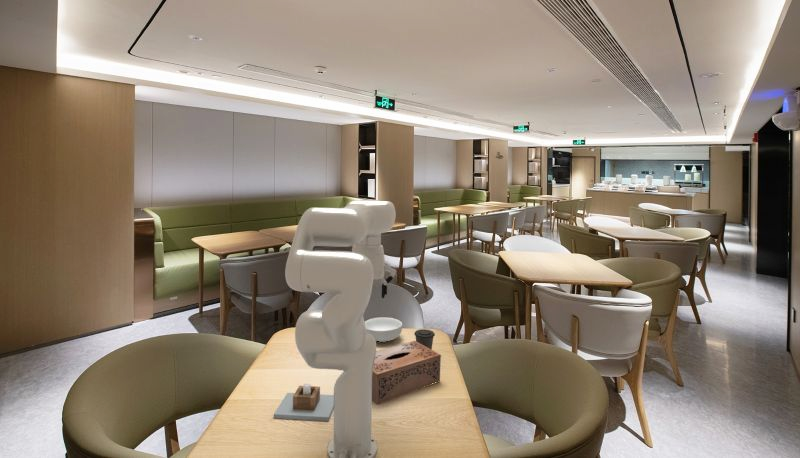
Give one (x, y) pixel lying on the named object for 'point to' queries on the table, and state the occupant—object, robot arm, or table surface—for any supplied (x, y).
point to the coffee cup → (425, 337)
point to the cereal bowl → (383, 328)
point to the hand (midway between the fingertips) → (367, 296)
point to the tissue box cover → (403, 370)
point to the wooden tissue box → (306, 399)
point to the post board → (319, 414)
